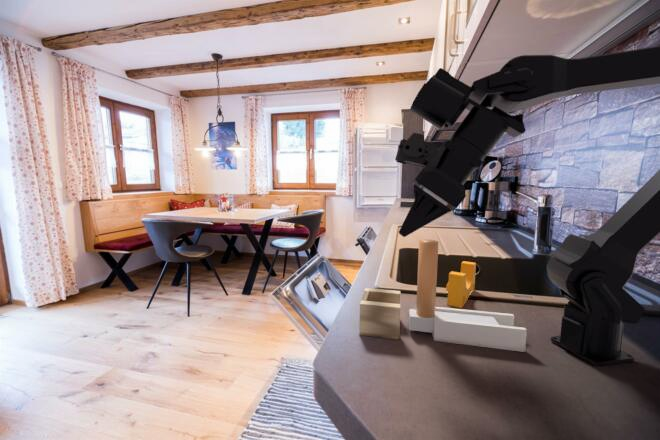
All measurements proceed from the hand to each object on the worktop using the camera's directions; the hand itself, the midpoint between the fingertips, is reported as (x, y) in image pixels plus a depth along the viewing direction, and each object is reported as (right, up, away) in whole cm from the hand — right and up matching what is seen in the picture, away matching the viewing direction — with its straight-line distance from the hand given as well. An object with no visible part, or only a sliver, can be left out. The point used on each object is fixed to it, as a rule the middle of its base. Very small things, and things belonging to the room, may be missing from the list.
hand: (403, 230), depth 46 cm
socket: (-4, -16, +1) cm, 16 cm away
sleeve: (+10, -16, -2) cm, 19 cm away
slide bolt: (+7, -15, -2) cm, 17 cm away
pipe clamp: (+15, -15, +14) cm, 26 cm away
